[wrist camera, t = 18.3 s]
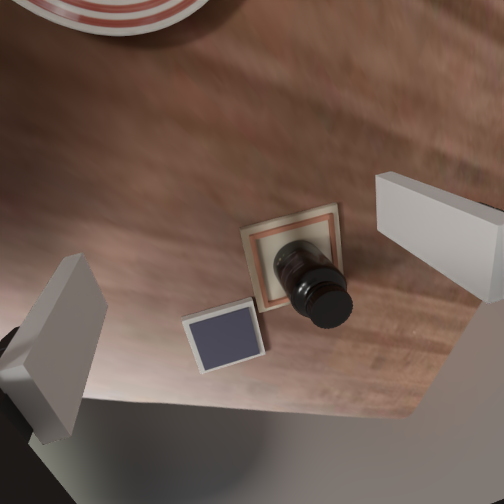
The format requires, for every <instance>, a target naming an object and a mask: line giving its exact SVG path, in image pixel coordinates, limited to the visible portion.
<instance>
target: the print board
mask: <svg viewBox="0 0 504 504" xmlns="http://www.w3.org/2000/svg"><path fill="white" fill-rule="evenodd" d="M239 230H240V234H241V239H242V243H243V247H244V252H245V256H246V260H247V265H248V269H249V273H250V278H251V282H252V286H253V290H254V295H255V299H256V303H257V308H258V311H259V313H261V312H265V311H268V310H271V309H275V308H278V307H281V306H285V305H288V304H291V303H290V301H289V299H288V297H287V296H286V294H285V292H284V290H283V289H282V287H281V285H280V283H279V282H278V280H277V278H276V276H275V274H274V270H273V262H274V258H275V256H276V254H277V252H278V251H279V250H280V249H281V248H282V247H283V246H284V245H286V244H287V243H289V242H292V241H296V240H305V241H308V242H311V243H312V244H314V245H315V246H316V247H317V248H318V249H319V250H320V251H321V252H322V253H323V254H324V255H325V256H326V257H327V258H328V259H329V260H330V261H331V262H332V263H333V264H334V265H335V266H336V267H337V268H338V269H339V270H340V272H341V273H342V274H343V275H344V273H343V262H342V250H341V239H340V228H339V216H338V205H337V204H336V203H335V202H334V203H331V204H327V205H323V206H319V207H316V208H312V209H308V210H305V211H301V212H297V213H293V214H290V215H286V216H282V217H279V218H275V219H271V220H267V221H264V222H260V223H256V224H252V225H249V226H245V227H241V228H239Z"/></svg>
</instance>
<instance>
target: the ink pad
mask: <svg viewBox="0 0 504 504" xmlns="http://www.w3.org/2000/svg"><path fill="white" fill-rule="evenodd" d="M181 319H182V324H183V327H184V329H185V332H186V335H187V338H188V340H189V343H190V346H191V349H192V351H193V354H194V357H195V360H196V362H197V365H198V368H199V371H200V373H201V374H204V373H207V372H210V371H213V370H216V369H220V368H223V367H226V366H229V365H233V364H236V363H239V362H242V361H245V360H249V359H252V358H255V357H258V356H262V355H265V350H264V346H263V341H262V337H261V333H260V329H259V325H258V320H257V316H256V312H255V308H254V303H253V300H252V297H248V298H245V299H242V300H238V301H235V302H231V303H228V304H224V305H221V306H218V307H214V308H211V309H207V310H204V311H200V312H197V313H194V314H190V315H187V316H183V317H181Z"/></svg>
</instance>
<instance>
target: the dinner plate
mask: <svg viewBox="0 0 504 504" xmlns="http://www.w3.org/2000/svg"><path fill="white" fill-rule="evenodd" d="M13 1H14V2H16V3H17V4H19V5H21V6H22V7H24V8H26V9H27V10H29V11H31V12H33V13H34V14H36V15H39V16H41V17H43V18H45V19H47V20H49V21H52V22H54V23H57V24H59V25H62V26H65V27H68V28H71V29H75V30H79V31H82V32H87V33H92V34H97V35H106V36H131V35H138V34H144V33H149V32H153V31H157V30H160V29H163V28H166V27H168V26H170V25H173V24H175V23H177V22H179V21H181V20H183V19H185V18H186V17H188V16H190V15H191V14H192V13H194V12H195V11H197V10H198V9H199V8H201V7H202V6H203V5H204V4H205V3H206V2H208V1H209V0H13Z"/></svg>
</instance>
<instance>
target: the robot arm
mask: <svg viewBox="0 0 504 504" xmlns="http://www.w3.org/2000/svg"><path fill="white" fill-rule="evenodd" d="M375 177H376V206H377V230H378V231H379V232H381V233H382V234H384V235H385V236H387V237H388V238H390V239H391V240H393V241H394V242H396V243H397V244H399V245H400V246H402V247H403V248H405V249H406V250H408V251H409V252H411V253H412V254H414V255H415V256H417V257H418V258H420V259H421V260H423V261H424V262H426V263H427V264H429V265H430V266H431V267H433V268H434V269H436V270H437V271H439V272H440V273H442V274H443V275H445V276H446V277H448V278H449V279H451V280H452V281H454V282H455V283H457V284H458V285H460V286H461V287H463V288H464V289H466V290H467V291H469V292H470V293H472V294H473V295H475V296H476V297H478V298H479V299H481V300H482V301H484V302H485V303H487V304H490V303H493V302H496V301H499V300H502V299H504V211H503V210H500V209H498V208H494V207H492V206H489V205H487V204H484V203H480V202H474V201H471V200H469V199H466V198H463V197H460V196H458V195H455V194H452V193H449V192H447V191H444V190H441V189H438V188H436V187H433V186H430V185H427V184H425V183H422V182H419V181H416V180H414V179H411V178H408V177H405V176H403V175H400V174H397V173H394V172H392V171H390V172H386V173H382V174H379V175H375ZM107 308H108V305H107V303H106V300H105V298H104V296H103V294H102V292H101V290H100V288H99V286H98V284H97V281H96V279H95V277H94V275H93V273H92V271H91V269H90V267H89V264H88V262H87V260H86V258H85V256H84V254H83V252H82V253H79V254H75V255H71V256H67V257H64V258H63V260H62V261H61V263H60V264H59V266H58V268H57V269H56V271H55V272H54V274H53V276H52V277H51V279H50V280H49V282H48V283H47V285H46V287H45V288H44V290H43V291H42V293H41V294H40V296H39V298H38V299H37V301H36V302H35V304H34V306H33V307H32V309H31V310H30V312H29V313H28V315H27V317H26V318H25V320H24V321H23V323H22V325H21V326H19V327H16V328H14V329H13V330H12V331H11V332H9V333H8V334H7V335H6V336H5V337H4V338H3V339H2V340H1V341H0V504H76V502H75V501H74V500H73V499H72V498H71V496H70V495H69V494H68V493H67V492H66V490H65V489H64V488H63V486H62V485H61V484H60V483H59V481H58V480H57V479H56V478H55V477H54V475H53V474H52V473H51V472H50V470H49V469H48V468H47V467H46V465H45V464H44V463H43V462H42V460H41V459H40V458H39V457H38V456H37V454H36V453H35V452H34V451H33V449H32V448H31V447H30V446H29V444H28V442H29V440H30V437H31V435H32V432H34V434H35V435H36V436H37V438H38V439H39V440H40V442H41V443H42V444H43V445H45V444H48V443H51V442H54V441H57V440H61V439H63V438H67V437H70V436H71V434H72V431H73V427H74V424H75V420H76V417H77V413H78V410H79V406H80V402H81V399H82V396H83V392H84V389H85V385H86V382H87V378H88V375H89V371H90V368H91V364H92V361H93V357H94V354H95V350H96V347H97V343H98V340H99V336H100V333H101V329H102V326H103V322H104V318H105V315H106V311H107ZM492 504H504V499H502V500H499V501H497V502H494V503H492Z"/></svg>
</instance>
